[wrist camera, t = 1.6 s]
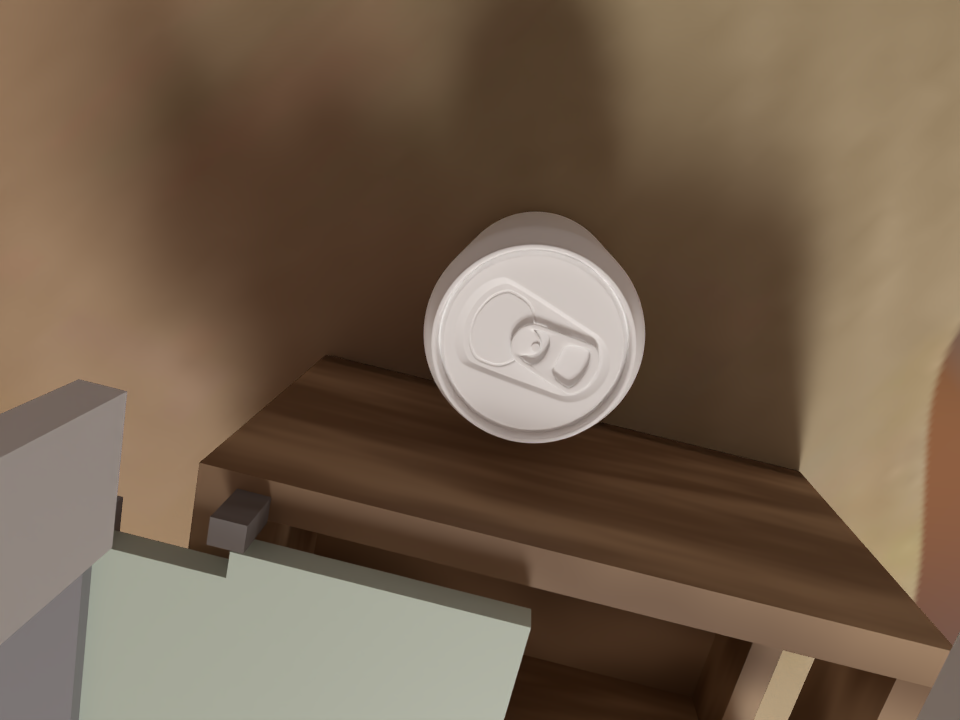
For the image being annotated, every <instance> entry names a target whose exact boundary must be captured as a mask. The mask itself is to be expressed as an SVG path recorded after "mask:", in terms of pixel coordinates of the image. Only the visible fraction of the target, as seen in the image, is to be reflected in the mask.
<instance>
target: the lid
mask: <svg viewBox="0 0 960 720" xmlns="http://www.w3.org/2000/svg"><path fill="white" fill-rule="evenodd" d="M122 502H123V497H120V496H117V502H116V512H115V523H114V533H113V544H112V548H111V549H110V550H109V551H108V552H107V553H105V554H104V555H103V556H102V557H101V558H100V559H98V560H97V561H96V562H95V563H94V564H93V565H92V566H90V567H89V568H88V569H87V570H86V571H85V572H84V573H82V574H81V575H80V576H79V577H78V578H77V579H75V580H74V581H73V582H72V583H71V584H70V585H69V586H67V587H66V588H65V589H64V590H63V591H62V592H61V593H59V594H58V595H57V596H56V597H55V598H54V599H53V600H51V601H50V602H49V603H48V604H47V605H46V606H44V607H43V608H42V609H41V610H40V611H39V612H38V613H36V614H35V615H34V616H33V617H32V618H31V619H30V620H28V621H27V622H26V623H25V624H24V625H23V626H21V627H20V628H19V629H18V630H17V631H16V632H15V633H13V634H12V635H11V636H10V637H9V638H8V639H7V640H5V641H4V642H3V643H2V644H1V645H0V720H504V718H505V714H506V711H507V707H508V704H509V701H510V697H511V694H512V690H513V687H514V684H515V680H516V677H517V673H518V670H519V667H520V663H521V660H522V656H523V653H524V650H525V646H526V643H527V640H528V636H529V633H530V629H531V609H529V608H525V607H522V606H518V605H514V604H510V603H506V602H502V601H498V600H494V599H490V598H486V597H482V596H478V595H474V594H470V593H466V592H462V591H458V590H454V589H450V588H446V587H442V586H438V585H434V584H430V583H426V582H422V581H418V580H415V579H411V578H407V577H403V576H399V575H395V574H391V573H387V572H383V571H379V570H375V569H371V568H367V567H363V566H359V565H355V564H351V563H347V562H343V561H339V560H335V559H331V558H327V557H323V556H319V555H315V554H311V553H307V552H304V551H300V550H296V549H292V548H288V547H284V546H280V545H276V544H272V543H268V542H264V541H260V540H256V539H254V541H253V542H252V543H251V544H250V546H249V547H248V548H247V550H246V551H245V552H244V553H243V554H242V553H238V552H234V551H230V555H229V559H227V558H223V557H219V556H215V555H211V554H207V553H203V552H199V551H195V550H191V549H187V548H183V547H179V546H175V545H171V544H167V543H163V542H159V541H155V540H151V539H148V538H144V537H140V536H136V535H132V534H128V533H124V532H120V522H121V512H122Z"/></svg>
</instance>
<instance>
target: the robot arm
mask: <svg viewBox="0 0 960 720" xmlns="http://www.w3.org/2000/svg"><path fill="white" fill-rule="evenodd" d="M126 398H127V391H124V390H120V389H116V388H112V387H108V386H104V385H100V384H96V383H92V382H88V381H84V380H80V379H79V380H76V381H74V382H72V383H70V384H67V385H65V386H63V387H60V388H58V389H56V390H54V391H51V392H49V393H47V394H45V395H42V396H40V397H38V398H36V399H33V400H31V401H29V402H26V403H24V404H22V405H20V406H17V407H15V408H13V409H11V410H8V411H6V412H4V413H2V414H0V645H1V644H2V643H3V642H4V641H5V640H7V639H8V638H9V637H10V636H11V635H12V634H13V633H15V632H16V631H17V630H18V629H19V628H20V627H21V626H23V625H24V624H25V623H26V622H27V621H28V620H30V619H31V618H32V617H33V616H34V615H35V614H36V613H38V612H39V611H40V610H41V609H42V608H43V607H44V606H46V605H47V604H48V603H49V602H50V601H51V600H53V599H54V598H55V597H56V596H57V595H58V594H59V593H61V592H62V591H63V590H64V589H65V588H66V587H67V586H69V585H70V584H71V583H72V582H73V581H74V580H75V579H77V578H78V577H79V576H80V575H81V574H82V573H84V572H85V571H86V570H87V569H88V568H89V567H90V566H92V565H93V564H94V563H95V562H96V561H97V560H98V559H100V558H101V557H102V556H103V555H104V554H105V553H107V552H108V551H109V550H110V549H111V548H112V544H113V533H114V523H115V512H116V502H117V492H118V481H119V471H120V460H121V450H122V440H123V429H124V419H125V408H126ZM916 720H960V633H959V635H958V636H957V639H956V640H955V643H954V645H953V647H952V649H951V651H950V653H949V655H948V657H947V659H946V661H945V663H944V665H943V667H942V669H941V671H940V673H939V675H938V677H937V679H936V681H935V683H934V685H933V687H932V689H931V691H930V693H929V695H928V697H927V699H926V701H925V703H924V705H923V707H922V709H921V711H920V713H919V715H918V717H917V719H916Z"/></svg>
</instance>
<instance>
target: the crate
mask: <svg viewBox="0 0 960 720" xmlns="http://www.w3.org/2000/svg"><path fill="white" fill-rule="evenodd" d="M254 539H256V540H260V541H264V542H268V543H272V544H276V545H280V546H284V547H288V548H292V549H296V550H300V551H304V552H307V553H311V554H315V555H319V556H323V557H327V558H331V559H335V560H339V561H343V562H347V563H351V564H355V565H359V566H363V567H367V568H371V569H375V570H379V571H383V572H387V573H391V574H395V575H399V576H403V577H407V578H411V579H415V580H418V581H422V582H426V583H430V584H434V585H438V586H442V587H446V588H450V589H454V590H458V591H462V592H466V593H470V594H474V595H478V596H482V597H486V598H490V599H494V600H498V601H502V602H506V603H510V604H514V605H518V606H522V607H525V608H529V609H531V629H530V633H529V636H528V640H527V643H526V646H525V650H524V653H523V656H522V660H521V663H520V667H519V670H518V673H517V677H516V680H515V684H514V687H513V690H512V694H511V697H510V701H509V704H508V707H507V711H506V714H505V718H504V720H754V718H755V716H756V713H757V711H758V708H759V706H760V704H761V701H762V699H763V696H764V694H765V692H766V689H767V687H768V684H769V682H770V680H771V677H772V675H773V672H774V670H775V668H776V665H777V663H778V660H779V658H780V656H781V653H782V651H783V650H785V651H789V652H793V653H796V654H800V655H804V656H808V657H812V658H815V659H814V662H813V664H812V666H811V669H810V671H809V673H808V676H807V678H806V680H805V682H804V685H803V687H802V689H801V692H800V694H799V696H798V699H797V701H796V703H795V705H794V708H793V710H792V712H791V715H790V717H789V719H788V720H916V719H917V717H918V715H919V713H920V711H921V709H922V707H923V705H924V703H925V701H926V699H927V697H928V695H929V693H930V691H931V689H932V687H933V685H934V683H935V681H936V679H937V677H938V675H939V673H940V671H941V669H942V667H943V665H944V663H945V661H946V659H947V657H948V655H949V653H950V651H951V649H952V647H953V646H952V644H951V643H950V642H949V641H948V640H947V639H946V638H945V636H944V635H943V634H942V633H941V632H940V631H939V630H938V629H937V627H936V626H935V625H934V624H933V623H932V622H931V621H930V620H929V618H928V617H927V616H926V615H925V614H924V613H923V612H922V610H921V609H920V608H919V607H918V606H917V605H916V603H915V602H914V601H913V600H912V599H911V598H910V597H909V596H908V594H907V593H906V592H905V591H904V590H903V589H902V588H901V586H900V585H899V584H898V583H897V582H896V581H895V580H894V578H893V577H892V576H891V575H890V574H889V573H888V572H887V570H886V569H885V568H884V567H883V566H882V565H881V564H880V563H879V561H878V560H877V559H876V558H875V557H874V556H873V555H872V553H871V552H870V551H869V550H868V549H867V548H866V547H865V545H864V544H863V543H862V542H861V541H860V540H859V539H858V537H857V536H856V535H855V534H854V533H853V532H852V531H851V530H850V528H849V527H848V526H847V525H846V524H845V523H844V522H843V520H842V519H841V518H840V517H839V516H838V515H837V514H836V512H835V511H834V510H833V509H832V508H831V507H830V506H829V505H828V503H827V502H826V501H825V500H824V499H823V498H822V497H821V495H820V494H819V493H818V492H817V491H816V490H815V489H814V487H813V486H812V485H811V484H810V483H809V482H808V481H807V479H806V478H805V477H804V476H803V475H802V474H801V473H800V472H799V471H796V470H792V469H788V468H784V467H779V466H775V465H771V464H767V463H763V462H759V461H755V460H751V459H747V458H743V457H739V456H735V455H731V454H727V453H723V452H719V451H715V450H711V449H707V448H702V447H698V446H694V445H690V444H686V443H682V442H678V441H674V440H670V439H666V438H662V437H658V436H654V435H650V434H646V433H642V432H638V431H634V430H630V429H625V428H621V427H617V426H613V425H609V424H605V423H601V422H598V423H596V424H595V425H593V426H592V427H590V428H588V429H586V430H584V431H582V432H580V433H578V434H576V435H574V436H571V437H568V438H565V439H562V440H558V441H553V442H546V443H522V442H515V441H510V440H506V439H503V438H500V437H497V436H494V435H492V434H490V433H487V432H486V431H484V430H482V429H480V428H478V427H477V426H475V425H474V424H472V423H471V422H469V421H468V420H466V419H465V418H464V417H463V416H461V415H460V414H459V413H458V412H457V411H456V410H455V409H454V408H453V407H452V406H451V405H450V404H449V402H448V401H447V400H446V399H445V397H444V396H443V395H442V393H441V391H440V390H439V388H438V387H437V385H436V383H435V381H431V380H427V379H423V378H419V377H415V376H411V375H407V374H403V373H398V372H394V371H390V370H386V369H382V368H378V367H374V366H370V365H366V364H362V363H358V362H354V361H350V360H346V359H342V358H338V357H334V356H330V355H326V356H325V357H323V358H322V359H321V360H320V361H319V362H318V363H316V364H315V365H314V366H313V367H312V368H310V369H309V370H308V371H307V372H306V373H305V374H303V375H302V376H301V377H300V378H299V379H297V380H296V381H295V382H294V383H293V384H292V385H290V386H289V387H288V388H287V389H286V390H285V391H283V392H282V393H281V394H280V395H279V396H277V397H276V398H275V399H274V400H273V401H272V402H270V403H269V404H268V405H267V406H266V407H264V408H263V409H262V410H261V411H260V412H259V413H257V414H256V415H255V416H254V417H253V418H252V419H250V420H249V421H248V422H247V423H246V424H244V425H243V426H242V427H241V428H240V429H239V430H237V431H236V432H235V433H234V434H233V435H231V436H230V437H229V438H228V439H227V440H226V441H224V442H223V443H222V444H221V445H220V446H219V447H217V448H216V449H215V450H214V451H213V452H211V453H210V454H209V455H208V456H207V457H206V458H204V459H203V460H202V461H201V462H200V463H199V470H198V478H197V485H196V493H195V501H194V509H193V516H192V524H191V532H190V540H189V548H188V549H191V550H195V551H199V552H203V553H207V554H211V555H215V556H219V557H223V558H227V559H229V555H230V551H234V552H238V553H242V554H243V553H244V552H245V551H246V550H247V548H248V547H249V546H250V544H251V543H252V542H253V541H254Z"/></svg>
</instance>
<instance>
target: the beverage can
mask: <svg viewBox="0 0 960 720" xmlns="http://www.w3.org/2000/svg"><path fill="white" fill-rule="evenodd" d="M644 345H645V322H644V315H643V310H642V306H641V302H640V299H639V297H638V294H637V292H636V289H635V287H634V285H633V283H632V282H631V280H630V278H629V277H628V275H627V274H626V272H625V271H624V269H623V268H622V267H621V266H620V264H619V263H618V262H617V261H616V260H615V259H614V258H613V256H612V255H611V254H610V253H609V252H608V251H607V250H606V249H605V248H604V247H603V245H602V244H601V243H600V242H599V241H598V240H597V239H596V238H595V237H594V236H593V235H592V234H591V233H590V232H589V231H588V230H587V229H585V228H584V227H583V226H581V225H580V224H578V223H576V222H575V221H573V220H571V219H569V218H566V217H564V216H561V215H557V214H553V213H548V212H524V213H518V214H514V215H511V216H508V217H505V218H503V219H501V220H499V221H497V222H495V223H493V224H492V225H490V226H489V227H487V228H486V229H485V230H484V231H482V232H481V233H480V234H479V235H478V236H477V237H476V238H475V239H474V240H473V241H472V242H471V243H470V244H469V245H468V246H467V247H466V248H465V249H464V250H463V251H462V252H461V253H460V254H459V255H458V256H457V257H456V258H455V259H454V260H453V261H452V262H451V263H450V264H449V266H448V267H447V268H446V269H445V271H444V272H443V273H442V275H441V276H440V278H439V280H438V281H437V283H436V285H435V287H434V289H433V291H432V294H431V296H430V299H429V302H428V305H427V309H426V314H425V320H424V348H425V354H426V358H427V362H428V366H429V369H430V372H431V374H432V377H433V379H434V381H435V383H436V385H437V387H438V388H439V390H440V391H441V393H442V395H443V396H444V397H445V399H446V400H447V401H448V402H449V404H450V405H451V406H452V407H453V408H454V409H455V410H456V411H457V412H458V413H459V414H460V415H461V416H463V417H464V418H465V419H466V420H468V421H469V422H471V423H472V424H474V425H475V426H477V427H478V428H480V429H482V430H484V431H486V432H487V433H490V434H492V435H494V436H497V437H500V438H503V439H506V440H510V441H515V442H522V443H546V442H553V441H558V440H562V439H565V438H568V437H571V436H574V435H576V434H578V433H580V432H582V431H584V430H586V429H588V428H590V427H592V426H593V425H595V424H596V423H598V422H599V421H601V420H602V419H603V418H605V417H606V416H607V415H608V414H609V413H610V412H611V411H613V410H614V409H615V407H616V406H617V405H618V404H619V403H620V402H621V401H622V399H623V398H624V397H625V395H626V394H627V392H628V391H629V389H630V388H631V386H632V384H633V382H634V380H635V378H636V376H637V373H638V371H639V368H640V365H641V361H642V357H643V352H644Z"/></svg>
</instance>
